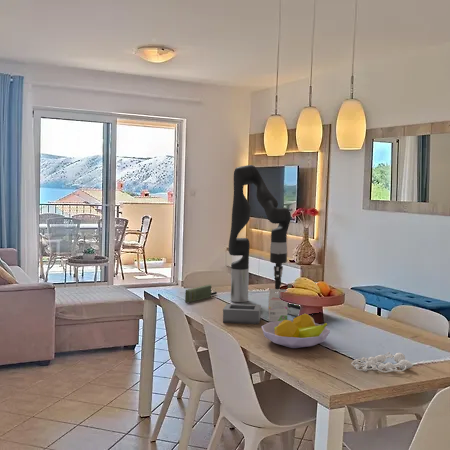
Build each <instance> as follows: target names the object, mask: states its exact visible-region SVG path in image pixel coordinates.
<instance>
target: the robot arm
mask: <svg viewBox="0 0 450 450" xmlns="http://www.w3.org/2000/svg"><path fill="white" fill-rule="evenodd" d="M252 184H253V185H255V187H256V199H257V201H258V203H259V204H260V206H261V207H262V208H263V210H264V212H265V215H266V219H267V220H268V221H269V222H270V223H272V224H275V225H276V224H277V227H276V228H273V229H272V230H271V232H270V233H271V234H270V248H269V249H270V250H269V251H270V253H269V257H270V258H269V259H270V260H269V261H270V263H272V264H275V265H274V266H273V276H274V289H281V286H282V275H283V270H284V266H282V265H283V264H286V263H287V262H288V245H287V244H288V243H287V240H288V237H287V235H288V231H289V227H290V224H291V218H292V216H291V211H290V209H288V208H286V207H278V206H279V203H278V200H277V199H276V198H275V196H274V195H273V194H272V193H271V191H270V190H269V188H268V186H267V185H266V183H265V180H264V179H263V178H262V175H261V174H260V172H259V170H258V169H257V166H254V165H253V164H248V165H242V166H238V167H236V168H235V169H234V170H233V196H232V197H233V200H232V208H231V226H230V234H229V241H228V253H229V255H230V256H237V257H239V256H240V259H237V260H236V261H233V262H231V264H230V265H231V266H230V268H231V269H230V301H231V302H234V303H246V302H248V301H249V266H250V265H249V263H250V249H251V248H250V240H249V238H245V237H238V236H239V233H240V232H241V231H242V230H243V229H244V228H245V226H246V225H247V224H248V223H249V221H250V218H251V210H252V209H251V208H252V207H251V205H250V202H249V201H248V199H247V197H246V196H245V194H244V186H249V185H252ZM241 256H242V257H241Z"/></svg>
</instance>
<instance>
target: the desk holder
mask: <svg viewBox="0 0 450 450" xmlns="http://www.w3.org/2000/svg"><path fill="white" fill-rule="evenodd" d="M261 315H262V305H261V304H245V303H244V304H243V303H241V304H239V303H226V304H225V306H224V308H223V309H222V323H223V324H225V323H226V324H245V325H260V322H261V318H262V316H261Z"/></svg>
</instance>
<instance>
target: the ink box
mask: <svg viewBox="0 0 450 450" xmlns="http://www.w3.org/2000/svg"><path fill="white" fill-rule="evenodd" d="M285 291H287V289H281V288H280V289H275V288H273V289H271V288H270V289H269V291H268V315H267V316H268V322H274V321H283V320H288V313H287V308H288V303H287V302H284V301H282V300H281V299H280V298H279V293H281V292H285ZM277 292H279V293H277Z"/></svg>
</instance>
